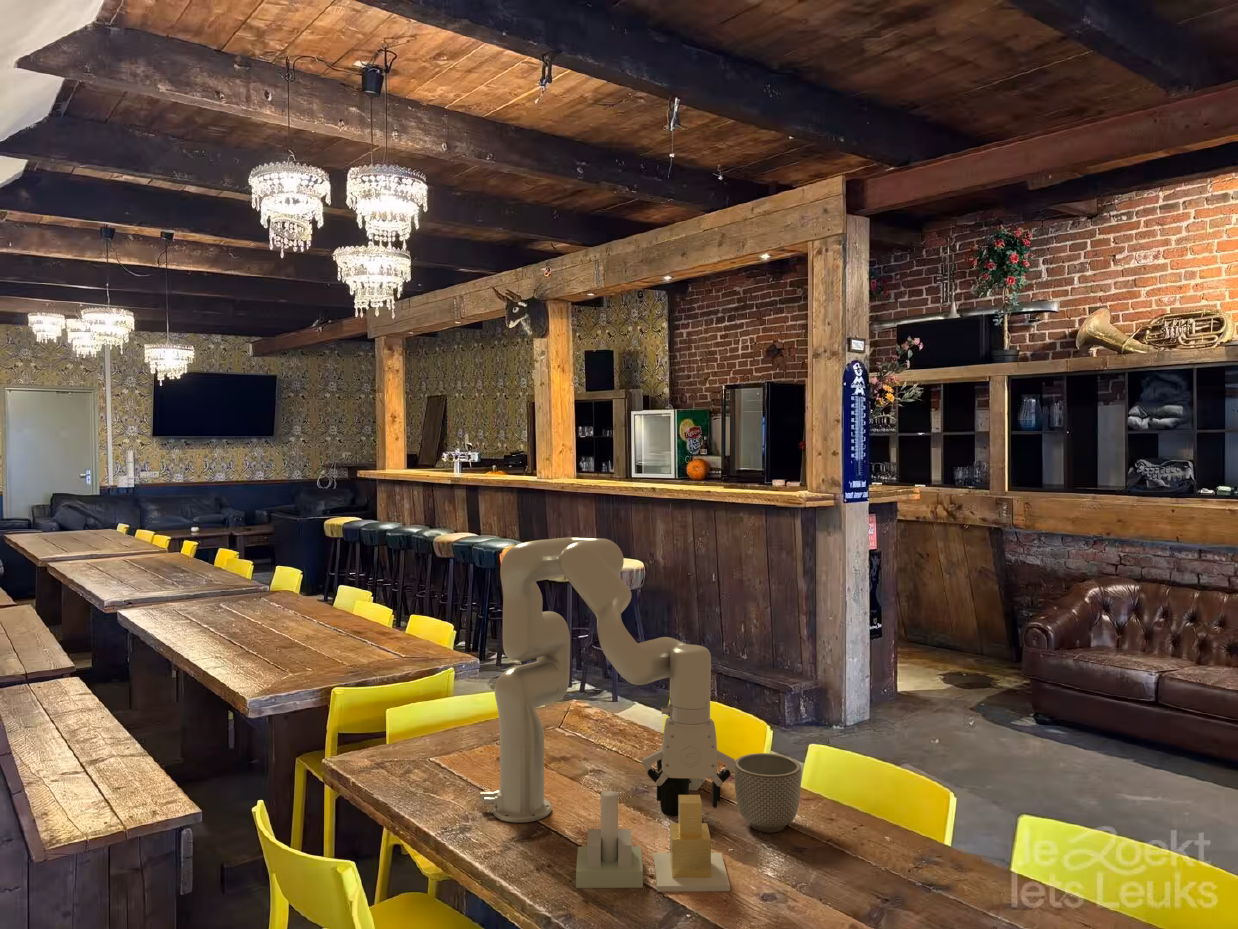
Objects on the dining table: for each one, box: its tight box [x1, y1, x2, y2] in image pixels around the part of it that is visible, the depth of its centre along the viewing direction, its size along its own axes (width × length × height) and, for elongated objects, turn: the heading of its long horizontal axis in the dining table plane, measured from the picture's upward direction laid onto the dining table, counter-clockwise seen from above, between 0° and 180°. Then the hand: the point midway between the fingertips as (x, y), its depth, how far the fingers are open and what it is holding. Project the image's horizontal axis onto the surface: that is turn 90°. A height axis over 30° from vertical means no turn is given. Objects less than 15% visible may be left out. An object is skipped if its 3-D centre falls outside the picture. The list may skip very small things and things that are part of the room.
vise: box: [575, 790, 644, 889], centre depth 166 cm, size 12×10×15 cm
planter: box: [733, 752, 802, 833], centre depth 187 cm, size 14×14×13 cm
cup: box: [656, 759, 690, 817], centre depth 195 cm, size 8×8×12 cm
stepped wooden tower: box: [669, 794, 712, 878], centre depth 166 cm, size 7×7×13 cm
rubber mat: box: [653, 852, 731, 893], centre depth 166 cm, size 13×13×1 cm
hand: (688, 804), depth 166 cm, fingers open, 9 cm apart
